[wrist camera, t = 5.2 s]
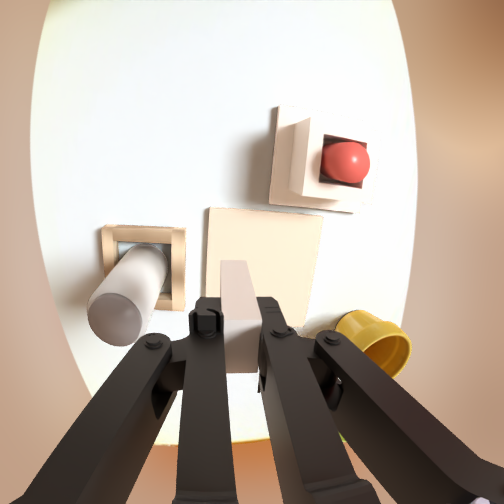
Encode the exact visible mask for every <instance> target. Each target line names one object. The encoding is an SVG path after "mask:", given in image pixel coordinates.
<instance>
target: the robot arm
mask: <svg viewBox="0 0 504 504" xmlns="http://www.w3.org/2000/svg"><path fill="white" fill-rule="evenodd" d="M189 331H190V334H189V336H187V337H186V338H183V339H181V340H177V341H170V338H169V337H167V336H166V335H164V334H161V333H149V334H146V335H143V336H141V337H140V338H139V339H138V340H137V341H136V343H135V344H134V345H133V346H132V348H131V349H130V350H129V351H128V353H127V354H126V355H125V356H124V358H123V359H122V360H121V361H120V363H119V364H118V365H117V367H116V368H115V369H114V370H113V372H112V373H111V374H110V376H109V377H108V378H107V379H106V381H105V382H104V383H103V385H102V386H101V387H100V389H99V390H98V391H97V392H96V394H95V395H94V396H93V398H92V399H91V400H90V402H89V403H88V404H87V406H86V407H85V408H84V410H83V411H82V412H81V414H80V415H79V416H78V418H77V419H76V420H75V422H74V423H73V425H72V426H71V427H70V429H69V430H68V431H67V433H66V434H65V435H64V437H63V438H62V440H61V441H60V443H59V444H58V445H57V447H56V448H55V449H54V451H53V452H52V454H51V455H50V456H49V458H48V459H47V461H46V462H45V464H44V465H43V466H42V468H41V469H40V471H39V472H38V474H37V475H36V477H35V478H34V479H33V481H32V483H31V484H30V486H29V487H28V488H27V490H26V492H25V493H24V495H22V496H21V497H19V498H18V499H16V500H14V501H13V502H11V503H10V504H126V501H127V499H128V497H129V495H130V493H131V491H132V488H133V486H134V484H135V482H136V480H137V478H138V475H139V474H140V471H141V469H142V467H143V465H144V463H145V461H146V459H147V457H148V454H149V452H150V450H151V448H152V446H153V444H154V442H155V440H156V438H157V435H158V433H159V431H160V429H161V427H162V425H163V423H164V421H165V419H166V416H167V414H168V412H169V410H170V408H171V406H172V404H173V402H174V400H175V398H176V395H177V391H178V390H183V396H182V407H181V418H180V431H179V444H178V460H177V478H176V496H175V498H174V500H173V501H172V504H239V503H238V500H237V494H236V485H235V476H234V466H233V455H232V444H231V432H230V420H229V407H228V394H227V379H226V373H257V372H258V366H259V371H260V373H259V383H258V393H260V390H261V395H262V400H263V405H264V411H265V416H266V421H267V426H268V431H269V436H270V441H271V445H272V450H273V456H274V460H275V465H276V470H277V474H278V480H279V484H280V489H281V493H282V498H283V503H284V504H381V503H380V501H379V498H378V496H377V494H376V491H375V489H374V488H373V486H372V484H371V483H370V482H369V481H367V480H364V479H359V478H358V477H357V475H356V473H355V471H354V468H353V466H352V463H351V461H350V459H349V456H348V454H347V452H346V449H345V446H344V444H343V442H342V439H341V437H340V434H341V436H342V437H343V438H344V439H345V441H346V442H347V443H348V444H349V446H350V447H351V448H352V449H353V451H354V452H355V453H356V454H357V456H358V457H359V458H360V459H361V460H362V462H363V463H364V464H365V466H366V467H367V468H368V469H369V471H370V472H371V473H372V474H373V475H374V476H375V478H376V479H377V480H378V481H379V483H380V484H381V485H382V486H383V487H384V489H385V490H386V491H387V492H388V493H389V495H390V496H391V497H392V498H393V499H394V500H395V501H396V503H397V504H504V468H503V467H500V466H497V465H495V464H492V463H490V462H488V461H485V460H483V459H481V458H479V457H478V456H477V455H476V454H475V453H474V452H473V451H472V450H470V449H469V448H468V447H467V446H466V445H465V444H464V443H463V442H462V441H461V440H460V439H458V438H457V437H456V436H455V435H454V434H453V433H452V432H451V431H450V430H448V429H447V428H446V427H445V426H444V425H443V424H442V423H441V422H440V421H439V420H438V419H436V418H435V417H434V416H433V415H432V414H431V413H430V412H428V410H426V409H425V408H424V407H423V406H422V405H421V404H420V403H419V402H417V400H415V399H414V398H413V397H412V396H411V395H410V394H409V393H408V392H407V391H405V390H404V389H403V388H402V387H401V386H400V385H399V384H398V383H397V382H396V381H394V380H393V379H392V378H391V377H390V376H389V375H388V374H387V373H386V372H385V371H383V370H382V369H381V368H380V367H379V366H378V365H377V364H376V363H375V362H374V361H372V360H371V359H370V358H369V357H368V356H367V355H366V354H365V353H364V352H363V351H361V350H360V349H359V348H358V347H357V346H356V345H355V344H354V343H353V342H351V341H350V340H349V339H348V338H347V337H346V336H345V335H343V334H342V333H340V332H337V331H333V330H326V331H322V332H319V333H318V334H317V335H316V339H309V338H303V337H300V336H298V335H297V333H296V331H295V330H294V329H293V328H292V327H290V326H288V325H287V323H286V321H285V318H284V316H283V313H282V311H281V308H280V306H279V303H278V301H277V300H275V299H274V298H273V297H256V295H255V291H254V288H253V284H252V280H251V276H250V273H249V269H248V265H247V262H246V260H220V297H200V298H199V299H198V300H197V301H196V305H195V309H194V310H192V311H191V312H190V313H189ZM338 378H339V379H340V380H341V381H340V380H339V379H338ZM339 433H340V434H339Z"/></svg>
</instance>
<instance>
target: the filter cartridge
mask: <svg viewBox="0 0 504 504" xmlns="http://www.w3.org/2000/svg"><path fill="white" fill-rule="evenodd" d="M167 272H168V262H167V259H166V257H165V255H164V253H163V252H162V251H161V250H160V249H159V248H157V247H156V246H154V245H151V244H147V243H142V244H137V245H135V246H133V247H132V248H131V249H130V250H129V251H128V252H127V253H126V254H125V255H124V257H123V258H122V259H121V260H120V261H119V262H118V264H117V265H116V266H115V267H114V268H113V270H112V271H111V272H110V273H109V274H108V276H107V277H106V278H105V279H104V280H103V282H102V283H101V284H100V285H99V287H98V288H97V289H96V290H95V292H94V293H93V294H92V295H91V297H90V299H89V301H88V304H87V315H88V321H89V325H90V327H91V329H92V330H93V332H94V333H95V334H96V336H97V337H99V338H100V339H101V340H102V341H104V342H106V343H108V344H110V345H113V346H127V345H130V344H132V343H135V342H136V341H137V340H138V339H139V338H140V337H141V336H143V335H144V334H145V332H146V330H147V327H148V324H149V321H150V319H151V316H152V313H153V310H154V307H155V305H156V302H157V299H158V296H159V294H160V291H161V288H162V286H163V283H164V281H165V278H166V275H167Z"/></svg>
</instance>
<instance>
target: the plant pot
mask: <svg viewBox="0 0 504 504" xmlns="http://www.w3.org/2000/svg"><path fill="white" fill-rule="evenodd" d="M335 331H337V332H340V333H342V334H343V335H345V336H346V337H347V338H348V339H349V340H350V341H351V342H353V343H354V344H355V345H356V346H357V347H358V348H359V349H360V350H361V351H363V352H364V353H365V354H366V355H367V356H368V357H369V358H370V359H371V360H372V361H374V362H375V363H376V364H377V365H378V366H379V367H380V368H381V369H382V370H383V371H385V372H386V373H387V374H388V375H389V376H390V377H391V378H392V379H394V378H395V377H396V376H397V375H398V374H399V373H400V372H401V371H402V370H403V368H404V366H405V365H406V363H407V362H408V360H409V358H410V355H411V351H412V345H411V341H410V339H409V337H408V336H407V335H406V334H405V333H404V332H403V331H402V330H401V329H400V328H399V327H398V326H397V325H396V324H394V323H392V322H389V321H382V320H380V319H379V318H377V317H375V316H373V315H372V314H370V313H368V312H366V311H364V310H356V311H352V312H350V313H348V314H346V315H345V316H344V317H343V318H342V319H341V320H340V321H339V322H338V324H337V326H336V329H335Z"/></svg>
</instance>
